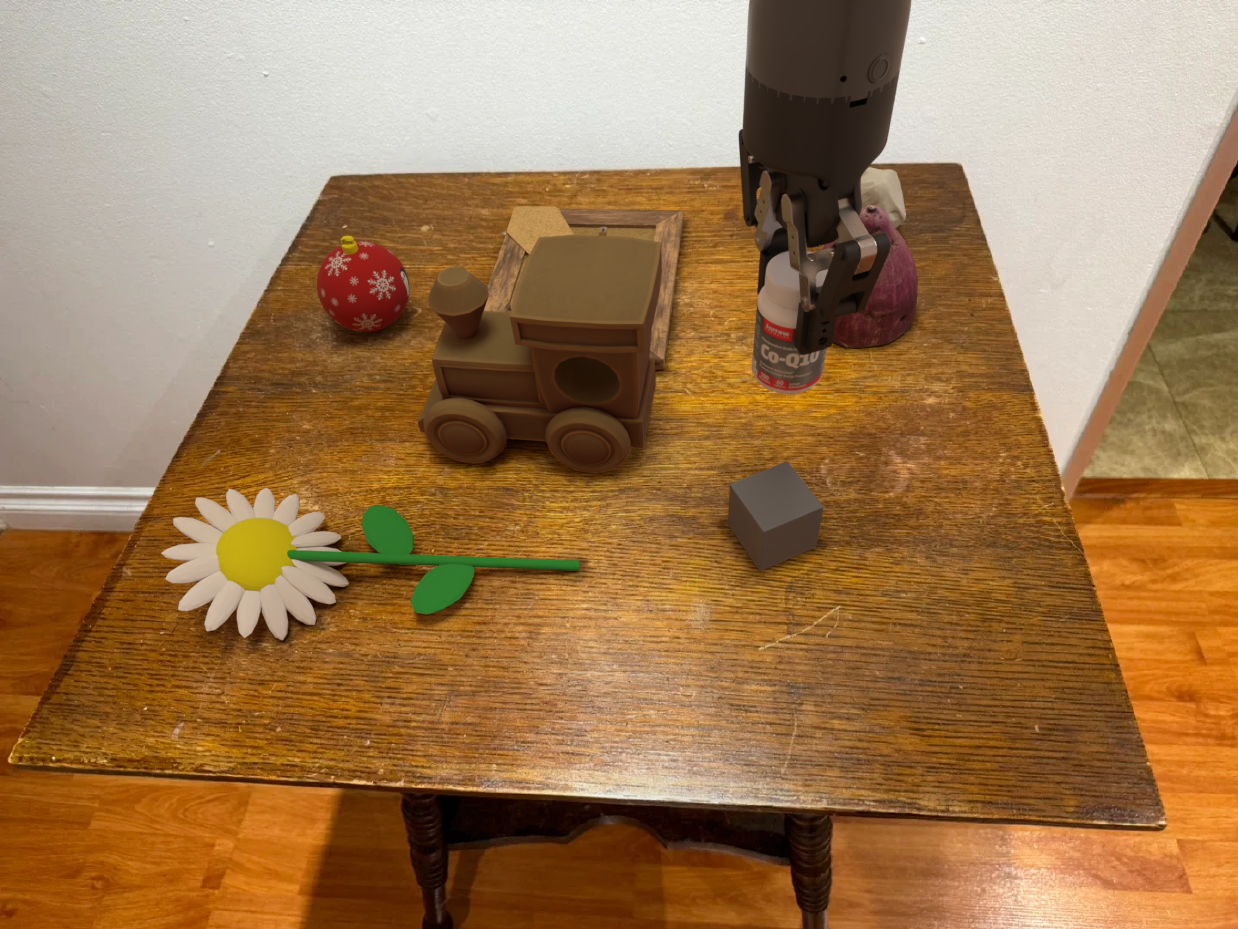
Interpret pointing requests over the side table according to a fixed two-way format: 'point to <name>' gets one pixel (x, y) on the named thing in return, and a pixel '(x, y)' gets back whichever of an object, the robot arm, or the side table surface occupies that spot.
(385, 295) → the christmas ornament
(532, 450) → the side table surface
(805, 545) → the grey block
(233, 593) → the decorative flower
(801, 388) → the pill bottle
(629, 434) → the wooden toy train
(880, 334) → the vegetable
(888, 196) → the decorative stone
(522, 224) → the picture frame
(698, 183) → the side table surface
